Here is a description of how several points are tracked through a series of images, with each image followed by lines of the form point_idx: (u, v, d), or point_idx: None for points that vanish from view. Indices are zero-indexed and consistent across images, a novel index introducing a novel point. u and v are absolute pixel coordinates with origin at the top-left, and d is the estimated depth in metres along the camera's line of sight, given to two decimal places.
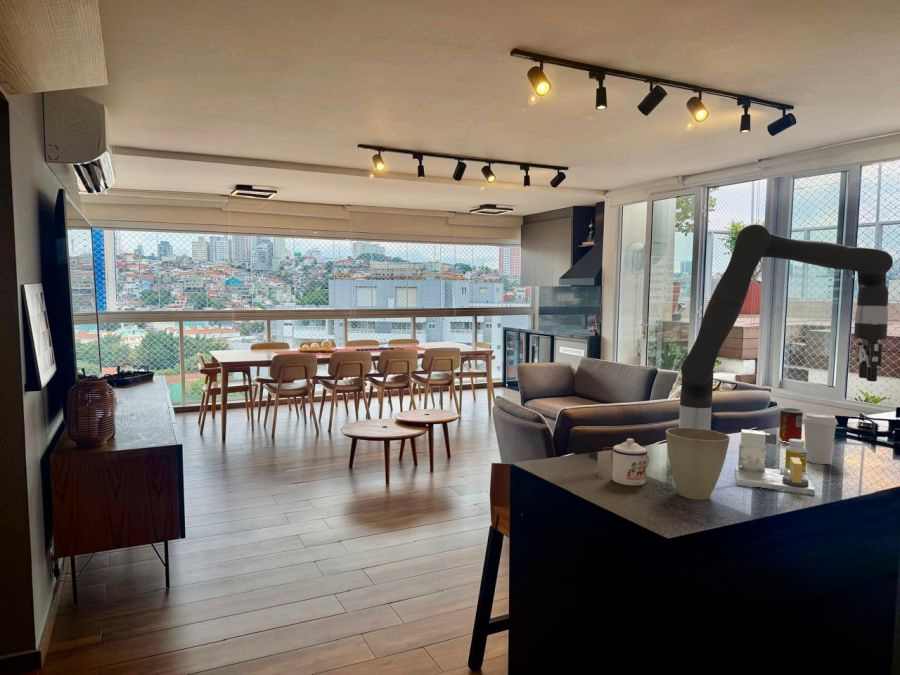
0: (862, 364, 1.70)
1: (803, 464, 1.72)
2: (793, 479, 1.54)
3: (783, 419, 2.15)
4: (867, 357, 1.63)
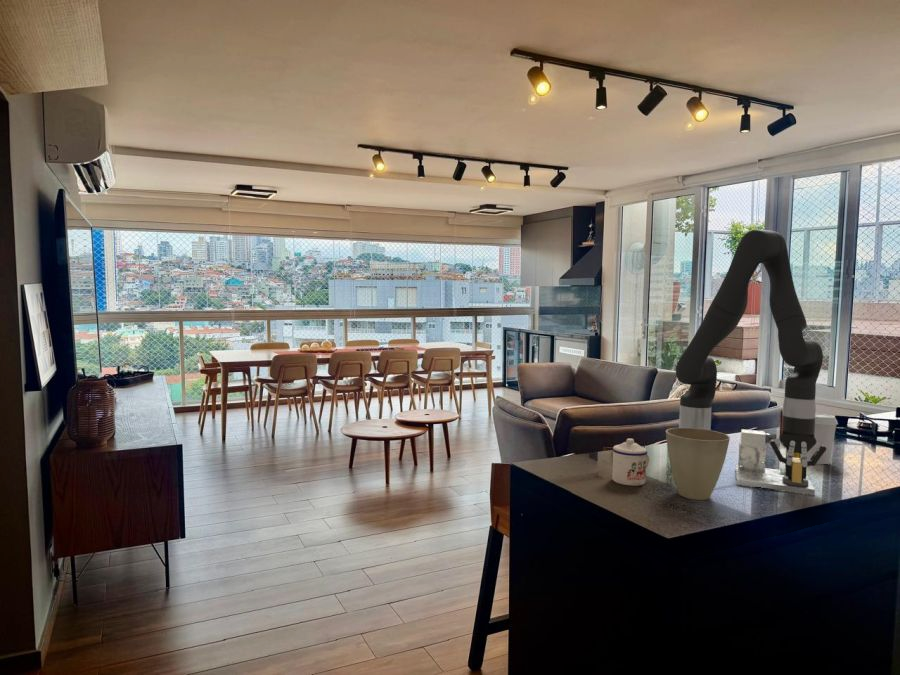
0: None
1: None
2: (793, 479, 1.54)
3: None
4: (806, 457, 1.55)
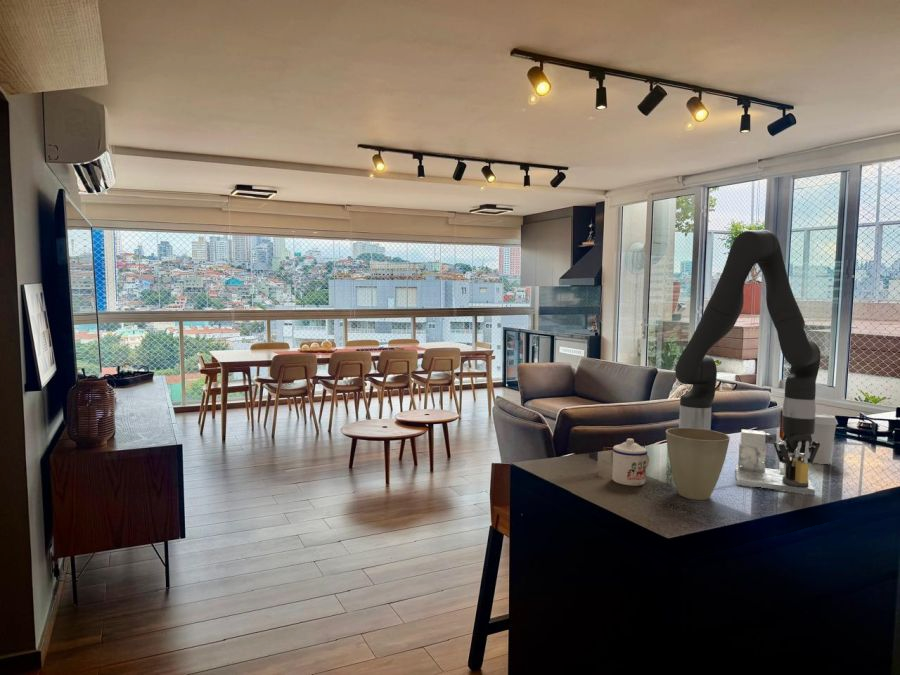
0: None
1: None
2: (801, 480, 1.53)
3: None
4: None
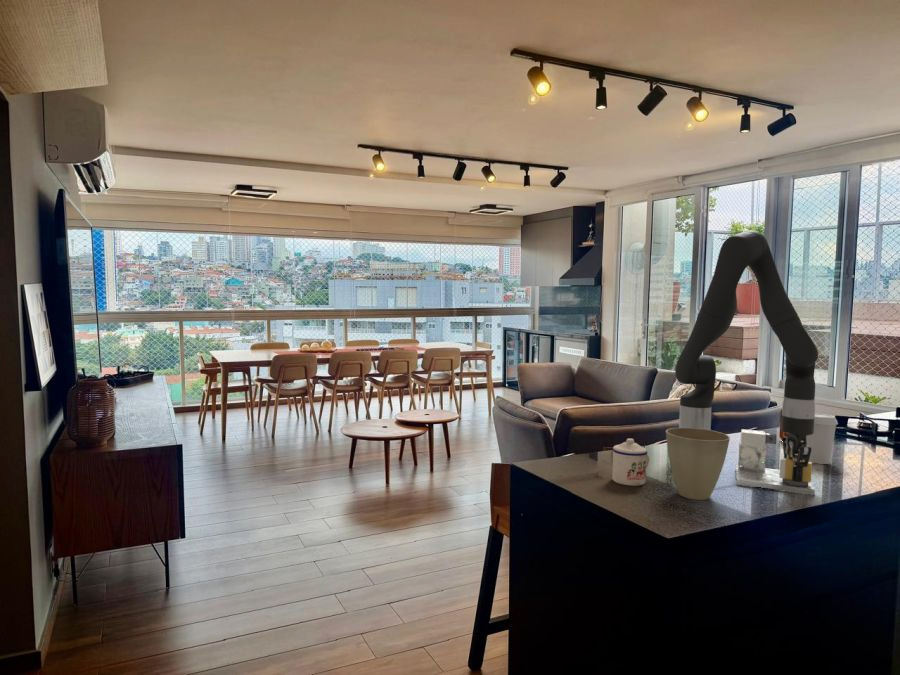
0: None
1: None
2: (810, 479, 1.54)
3: None
4: None
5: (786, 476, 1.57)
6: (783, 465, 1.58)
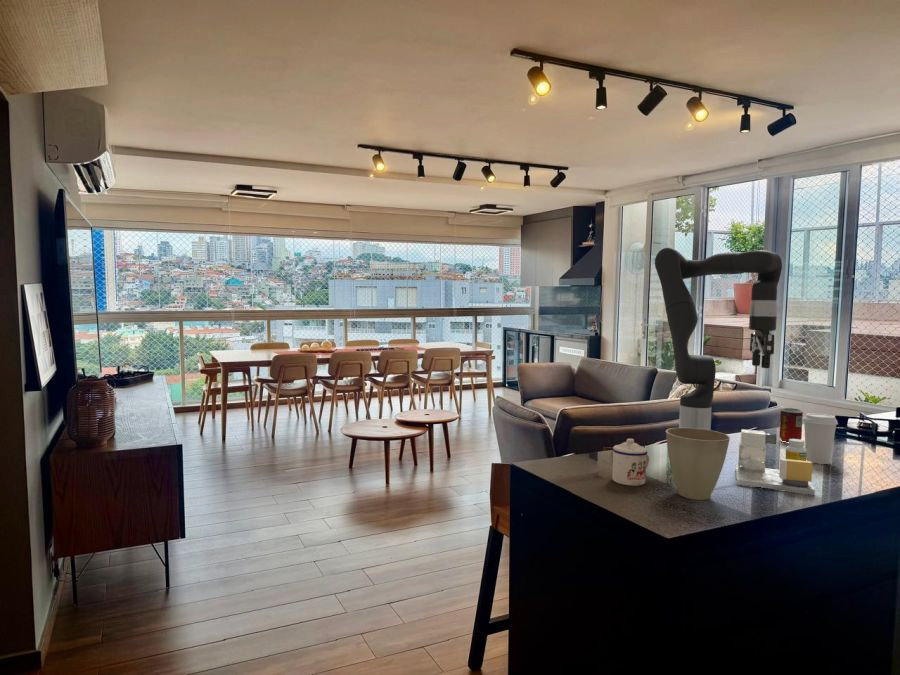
0: None
1: None
2: (811, 478, 1.55)
3: (783, 419, 2.15)
4: None
5: (787, 477, 1.57)
6: (785, 466, 1.57)
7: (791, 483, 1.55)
